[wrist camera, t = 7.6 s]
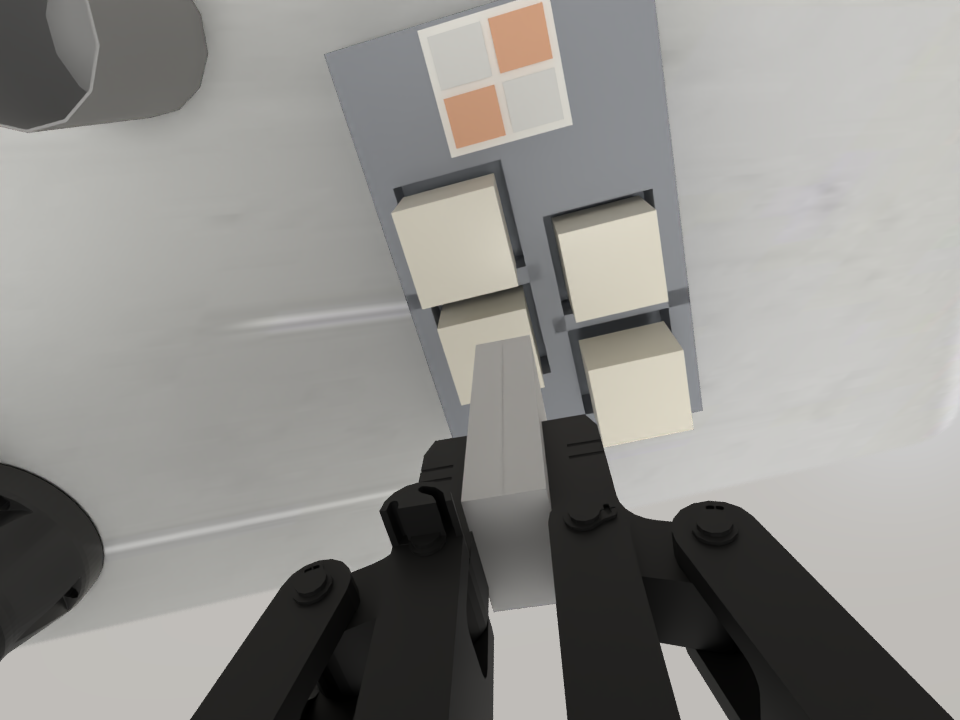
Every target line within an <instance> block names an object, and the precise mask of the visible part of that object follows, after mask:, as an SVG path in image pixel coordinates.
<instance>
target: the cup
mask: <svg viewBox="0 0 960 720" xmlns="http://www.w3.org/2000/svg"><path fill="white" fill-rule="evenodd" d="M207 56H208V50H207V45H206V40H205V34H204V29H203V23H202V18H201V14H200V12H199V11H198V9H197V7H196V6H195V4H194V2H193V1H192V0H0V127H4V128H8V129H12V130H17V131H21V132H26V133H31V132H39V131H47V130H55V129H63V128H71V127H79V126H87V125H95V124H103V123H112V122H120V121H128V120H136V119H144V118H151V117H155V116H158V115H162V114H166V113H169V112H173V111H177V110H180V109H181V107H182V106H183V105H184V104H185V103H186V102H187V101H188V100H189V99H190V98H191V97H192V96H193V94H194V93H195V92H196V91H197V90H198V89H199V88H200V86H201V81H202V77H203V73H204V69H205V65H206V60H207Z"/></svg>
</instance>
